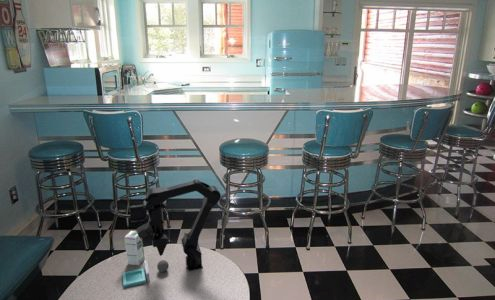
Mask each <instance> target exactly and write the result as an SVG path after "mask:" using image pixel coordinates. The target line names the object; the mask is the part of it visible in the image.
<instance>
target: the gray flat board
mask: <svg viewBox="0 0 495 300" xmlns="http://www.w3.org/2000/svg"><path fill="white" fill-rule="evenodd" d="M143 262H144V265H143V266H144V271H145V278H146V283H149V282H150V281H151V280H150V279H151V278H150V270H149V265H148V259H144V260H143Z"/></svg>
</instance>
